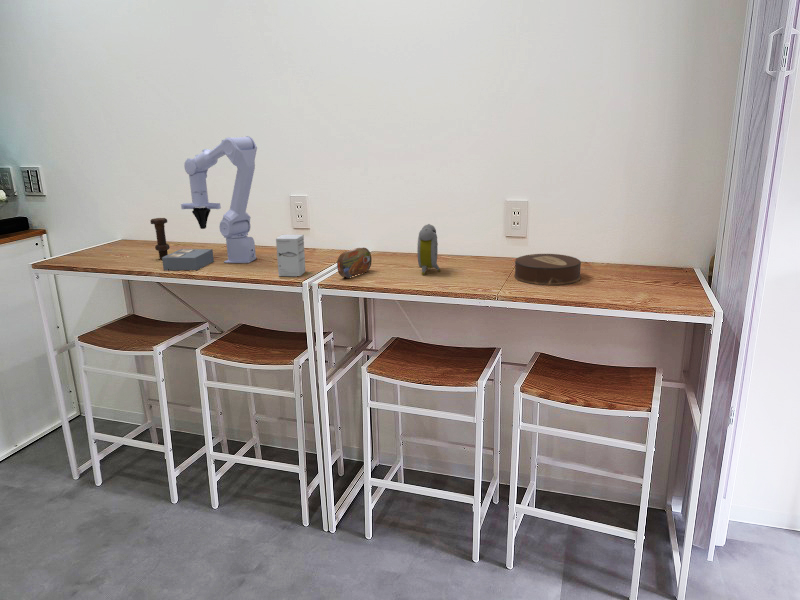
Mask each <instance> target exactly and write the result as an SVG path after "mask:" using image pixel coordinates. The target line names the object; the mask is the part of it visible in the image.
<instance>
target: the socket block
mask: <svg viewBox="0 0 800 600" xmlns="http://www.w3.org/2000/svg"><path fill="white" fill-rule="evenodd" d="M181 250H194V251H192V252H189V253H178V252H179V251H181ZM172 254H185V255H183V256H181V257H168V256H170V255H172ZM214 259H215V258H214V251H213V248H180V249H178V250H176V251H174V252H171V253H169V254H168V255H167V256H164V257H162V260H161V261H162V268H163V271H178V270H197V271H199V270H200V268H201V269H202V268H204V267H206V266H208V265H209V264H211V263H214V261H215V260H214ZM168 269H169V270H168ZM198 269H199V270H198Z"/></svg>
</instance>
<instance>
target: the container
mask: <svg viewBox="0 0 800 600" xmlns="http://www.w3.org/2000/svg"><path fill="white" fill-rule="evenodd" d="M581 267H582V262H581V260H580V259H578V258H577V257H574V256H570V255H566V254H559V253H533V254H526V255H522V256H521V255H520V256H518V257H517V258H516V259H515V261H514V279H515V280H517V281H519V282H521V283H525V284H530V285H534V286H535V285H536V286H547V287H548V286H549V287H550V286H566V285H571V284H576V283H578V282H579V281H581V279H582V278H581Z"/></svg>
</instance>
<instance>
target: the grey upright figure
mask: <svg viewBox="0 0 800 600" xmlns="http://www.w3.org/2000/svg"><path fill="white" fill-rule="evenodd" d="M438 245H439V244H438V235H437V229H436V227H435V226H434V225H432V224H430V223H428V224H425V225H424V226H423V227H422V228H421V230H420V231H419V232H418V237H417V265H418V267H419V268H421V276H425V273H426V272H427V271H426V270H427V269H434V270H436V271H437V272H438V273H440V272H441V271H442V270H441V268H440V267H439V265H438V253H439V252H438Z"/></svg>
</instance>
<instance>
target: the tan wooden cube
mask: <svg viewBox="0 0 800 600" xmlns="http://www.w3.org/2000/svg"><path fill="white" fill-rule="evenodd" d="M192 251H194V250H181V251H179V252H178V253H189V252H192Z"/></svg>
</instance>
